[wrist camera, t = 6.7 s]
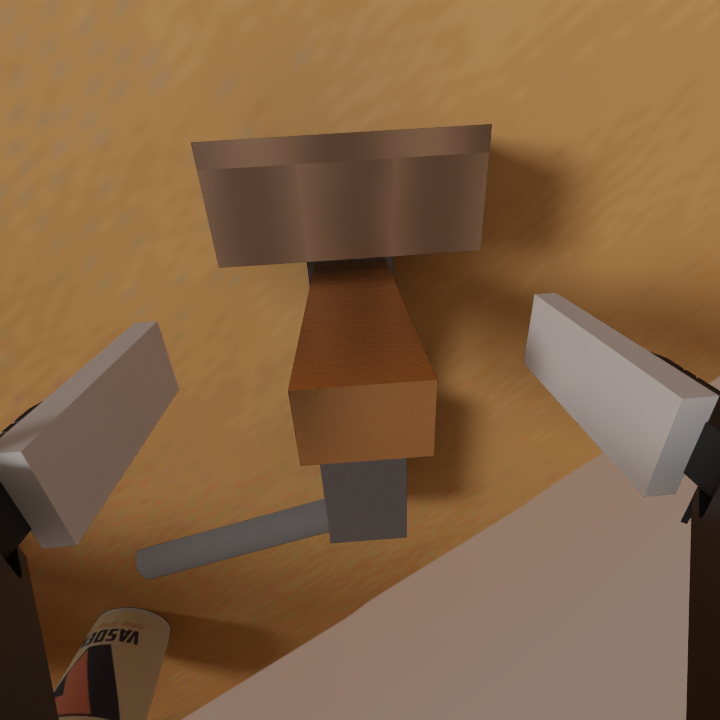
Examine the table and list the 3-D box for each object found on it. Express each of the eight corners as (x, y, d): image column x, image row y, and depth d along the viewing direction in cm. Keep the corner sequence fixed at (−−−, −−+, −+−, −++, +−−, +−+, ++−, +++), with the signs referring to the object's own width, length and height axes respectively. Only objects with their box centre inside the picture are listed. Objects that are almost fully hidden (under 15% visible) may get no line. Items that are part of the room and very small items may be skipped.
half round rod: (345, 521, 37) (345, 537, 36) (160, 570, 39) (153, 588, 38) (330, 490, 35) (329, 506, 34) (136, 544, 37) (127, 561, 36)
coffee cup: (159, 596, 40) (95, 755, 30) (191, 644, 45) (145, 798, 34) (71, 609, 41) (-24, 770, 30) (111, 655, 45) (41, 810, 34)
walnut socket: (249, 237, 24) (218, 267, 18) (232, 144, 22) (190, 142, 16) (444, 225, 24) (480, 250, 18) (448, 131, 22) (491, 124, 16)
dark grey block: (332, 484, 34) (330, 543, 29) (320, 386, 29) (316, 436, 24) (396, 479, 34) (406, 537, 29) (394, 380, 29) (406, 429, 24)
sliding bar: (334, 452, 31) (330, 703, 17) (304, 177, 22) (239, 226, 8) (389, 448, 31) (432, 694, 17) (383, 172, 22) (465, 212, 8)
